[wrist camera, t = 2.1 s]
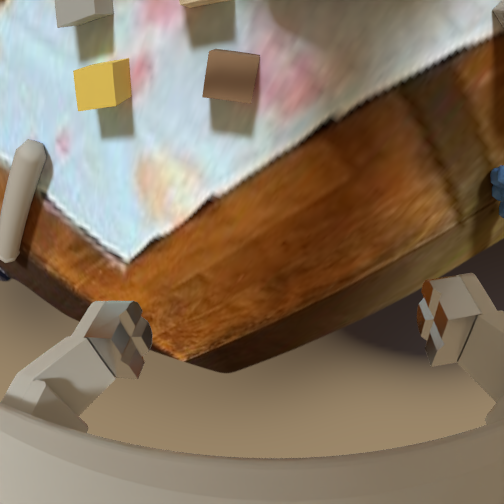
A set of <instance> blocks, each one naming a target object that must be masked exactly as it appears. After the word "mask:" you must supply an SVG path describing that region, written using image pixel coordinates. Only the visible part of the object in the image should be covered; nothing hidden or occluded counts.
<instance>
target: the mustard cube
mask: <svg viewBox="0 0 504 504" xmlns="http://www.w3.org/2000/svg"><path fill="white" fill-rule="evenodd" d="M73 72H74V82H75V90H76V98H77V106H78V111H84V110H90V109H97V108H105V107H113V106H117V105H119V104H120V103H122V102H123V101H125V100H126V99H128V98H130V97H131V96H132V95H131V83H130V68H129V58H127V59H121V60H114V61H109V62H103V63H98V64H93V65H89V66H86V67H83V68H80V69H77V70H75V71H73Z"/></svg>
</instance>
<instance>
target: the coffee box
mask: <svg viewBox="0 0 504 504" xmlns="http://www.w3.org/2000/svg"><path fill="white" fill-rule="evenodd" d="M493 12H494V13H495V15H496V17H497V18H498V20H499V21H500V23H501V25H502V27H503V28H504V0H502V1H501V2H500V3H499V4H498V5H497V6H496V7H495V8H494V9H493Z"/></svg>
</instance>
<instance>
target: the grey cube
mask: <svg viewBox="0 0 504 504" xmlns="http://www.w3.org/2000/svg"><path fill="white" fill-rule="evenodd" d="M55 8H56V18H57V27H58V28H60V27H69V26H79V25H81V24H84V23H87V22H90V21H93V20H96V19H99V18H102V17H105V16H109V15H112V14H114V11H113V0H55Z"/></svg>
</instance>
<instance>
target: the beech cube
mask: <svg viewBox="0 0 504 504" xmlns="http://www.w3.org/2000/svg"><path fill="white" fill-rule="evenodd" d="M179 1H180V5H182V6H185V7H188V8H193V7H198V6H202V5H207V4H213V3H218V2H224V1H230V0H179Z"/></svg>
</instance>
